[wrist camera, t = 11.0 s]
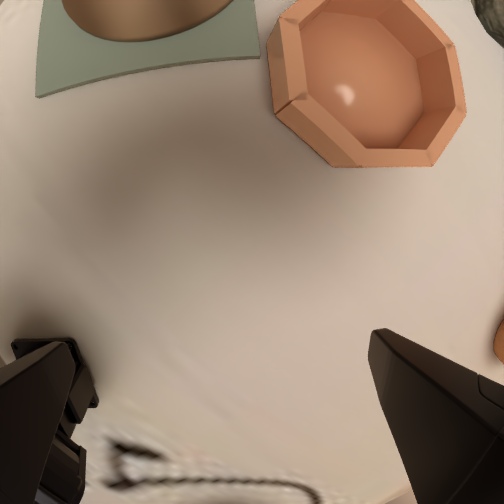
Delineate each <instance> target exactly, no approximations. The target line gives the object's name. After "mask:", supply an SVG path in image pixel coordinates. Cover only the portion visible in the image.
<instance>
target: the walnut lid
mask: <svg viewBox="0 0 504 504" xmlns="http://www.w3.org/2000/svg"><path fill="white" fill-rule="evenodd" d="M232 1H233V0H62V4H63V7H64V9H65V11H66V13H67V14H68V16H69V17H70V18H71V19H72V20H73V21H74V22H75V23H76V24H77V25H78V27H80V28H81V29H82V30H84V31H85V32H87V33H89V34H91V35H93V36H95V37H98V38H101V39H104V40H109V41H114V42H144V41H152V40H157V39H162V38H166V37H170V36H173V35H176V34H179V33H182V32H185V31H187V30H190V29H192V28H194V27H196V26H198V25H200V24H202V23H204V22H206V21H208V20H209V19H211V18H212V17H214V16H216V15H217V14H218V13H220V12H221V11H222V10H224V9H225V8H226V7H227V6H228V5H229V4H230V3H231V2H232Z"/></svg>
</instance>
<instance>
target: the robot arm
mask: <svg viewBox="0 0 504 504" xmlns="http://www.w3.org/2000/svg"><path fill="white" fill-rule="evenodd" d="M68 344H70V345H71V346H72V347H70V346H69V345H68ZM16 345H17V346H16ZM11 347H12V350H13V352H14V355H15V357H16V361H14V362H12V363H10V364H8V365H6V366H4V367H2V368H0V504H79V503H80V501H81V499H82V497H83V494H84V490H85V470H86V449H84V448H83V447H82V446H79V445H77V444H76V443H75V442H73V441H72V440H71V439H70V438H71V436H72V433H73V431H74V429H75V426H76V424H80V423H81V422H82V420H83V418H84V415H85V413H86V411H87V408H96V407H97V406H98V403H99V401H98V399H97V396H96V394H95V388H94V386H93V384H92V381H91V378H90V376H89V373H88V371H87V368H86V366H85V365H84V364H83V361H82V358H81V356H80V353H79V350H78V347H77V344H76V342H75V341H74V340H73V339H71V338H58V339H15V340H14V341H13V342H12V343H11ZM368 361H369V365H370V369H371V372H372V376H373V379H374V383H375V387H376V390H377V394H378V398H379V401H380V404H381V407H382V410H383V412H384V415H385V417H386V420H387V422H388V425H389V428H390V430H391V433H392V435H393V438H394V440H395V443H396V446H397V448H398V451H399V453H400V456H401V459H402V461H403V464H404V467H405V470H406V472H407V475H408V478H409V481H410V483H411V486H412V489H413V492H414V495H415V498H416V500H417V503H418V504H504V386H503V385H501V384H499V383H497V382H494V381H492V380H490V379H488V378H486V377H484V376H482V375H480V374H479V375H478V374H477V373H476V372H474V371H472V370H470V369H468V368H466V367H464V366H461V365H459V364H457V363H455V362H453V361H451V360H449V359H447V358H445V357H443V356H441V355H439V354H437V353H435V352H433V351H431V350H429V349H427V348H425V347H423V346H421V345H419V344H417V343H415V342H413V341H411V340H409V339H407V338H405V337H403V336H401V335H399V334H397V333H395V332H393V331H391V330H389V329H387V328H383V329H376V330H373V331H372V333H371V337H370V344H369V351H368ZM91 401H92V402H94V403H92V402H91Z"/></svg>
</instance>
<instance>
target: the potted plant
mask: <svg viewBox="0 0 504 504" xmlns="http://www.w3.org/2000/svg"><path fill="white" fill-rule="evenodd" d="M494 352H495V354H496V355H497V357H498V358H499V359H500V360H501V361H502V363H503V364H504V320H503V321H502V323H501V325H500V327H499V328H498V331H497V333H496V337H495V340H494Z"/></svg>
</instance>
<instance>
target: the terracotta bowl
mask: <svg viewBox="0 0 504 504" xmlns="http://www.w3.org/2000/svg"><path fill="white" fill-rule="evenodd" d="M453 44H454V43H453V42H452V41H451V40H450V39H449V37H448V36H447V35H446V34H445V33H444V32H443V30H442V29H441V28H440V27H439V26H438V25H437V24H436V23H435V22H434V20H433V19H432V18H431V17H430V16H429V15H428V14H427V13H426V12H425V11H424V10H423V9H422V8H421V7H420V6H419V5H418V4H417V3H416V2H415V1H414V0H298V1H297V2H296V3H294V4H293V5H292V6H291V7H290V8H288V9H287V10H286V11H285V12H284V13H283V14H282V15H280V17H279V19H278V21H277V23H276V25H275V27H274V29H273V31H272V33H271V35H270V37H269V39H268V42H267V44H266V45H267V53H268V62H269V70H270V79H271V88H272V97H273V107H274V114H277V115H276V117H277V118H279V119H280V120H281V121H282V122H283V123H284V124H286V125H287V126H288V127H289V128H290V129H291V130H293V131H294V132H295V133H296V134H297V135H298V136H299V137H301V138H302V139H303V140H304V141H305V142H306V143H307V144H308V145H310V146H311V147H312V148H313V149H314V150H315V151H316V152H317V153H318V154H319V155H321V156H322V157H323V158H324V159H325V160H326V161H327V162H328V163H329V164H330V165H331V166H332V167H348V168H367V167H432V166H434V164H435V163H436V161H437V160H438V158H439V157H440V155H441V154H442V152H443V151H444V149H445V148H446V146H447V145H448V143H449V142H450V140H451V139H452V137H453V135H454V134H455V132H456V131H457V129H458V128H459V126H460V125H461V123H462V121H463V120H464V118H465V117H466V114H465V113H467V111H466V103H465V96H464V90H463V84H462V78H461V73H460V67H459V63H458V58H457V53H456V49H455V46H454V45H453Z"/></svg>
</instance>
